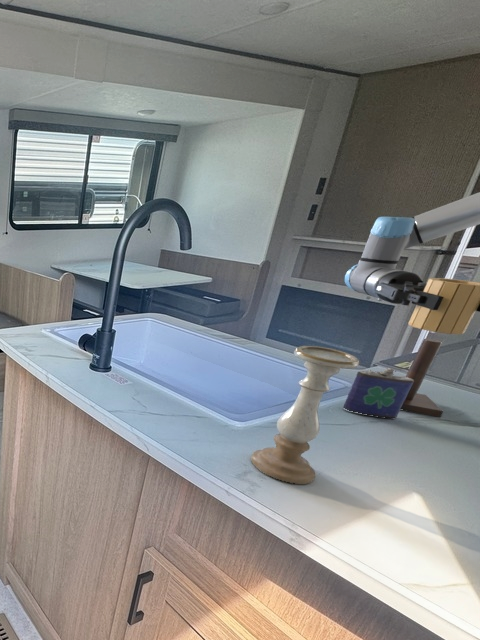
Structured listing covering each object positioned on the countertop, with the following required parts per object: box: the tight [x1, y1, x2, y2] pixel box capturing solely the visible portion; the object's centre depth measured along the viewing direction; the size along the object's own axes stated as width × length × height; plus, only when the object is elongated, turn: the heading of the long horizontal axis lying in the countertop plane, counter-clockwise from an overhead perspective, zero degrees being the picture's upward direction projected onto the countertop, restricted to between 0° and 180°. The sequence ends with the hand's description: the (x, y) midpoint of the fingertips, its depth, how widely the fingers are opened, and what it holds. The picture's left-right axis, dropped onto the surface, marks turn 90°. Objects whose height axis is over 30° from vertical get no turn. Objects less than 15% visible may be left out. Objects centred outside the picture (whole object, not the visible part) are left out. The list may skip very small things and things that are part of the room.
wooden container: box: [407, 277, 480, 335], centre depth 90 cm, size 8×8×10 cm
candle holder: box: [250, 345, 360, 485], centre depth 66 cm, size 9×9×20 cm
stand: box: [400, 338, 444, 418], centre depth 94 cm, size 10×10×15 cm
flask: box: [342, 366, 414, 419], centre depth 89 cm, size 9×3×11 cm, turn 68°
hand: (466, 305), depth 85 cm, fingers closed on wooden container, 9 cm apart
